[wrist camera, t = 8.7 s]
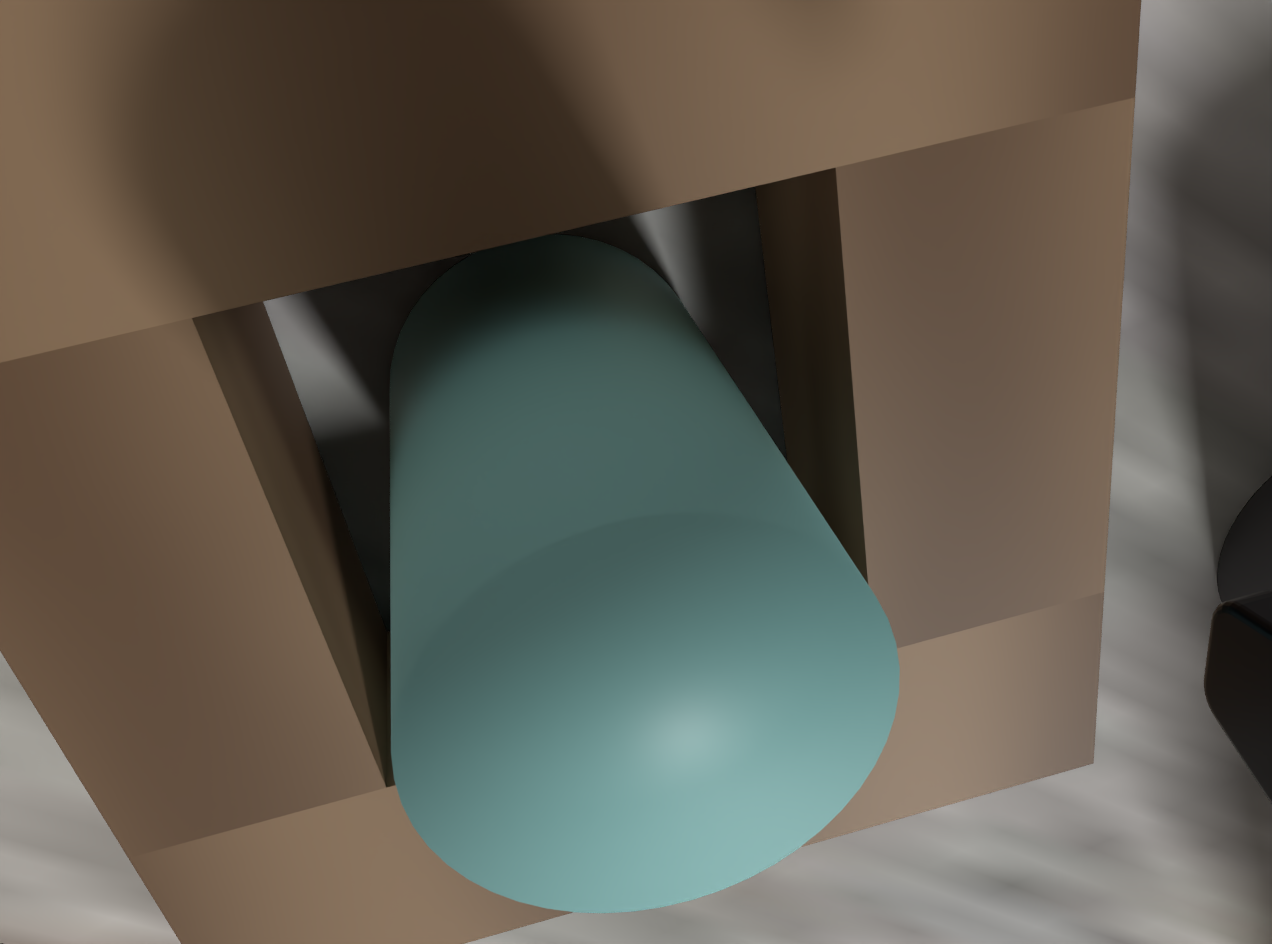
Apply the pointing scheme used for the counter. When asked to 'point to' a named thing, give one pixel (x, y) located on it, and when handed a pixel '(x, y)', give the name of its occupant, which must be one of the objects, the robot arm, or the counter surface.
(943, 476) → the socket block
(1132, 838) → the counter surface
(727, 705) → the peg
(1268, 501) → the black dowel
